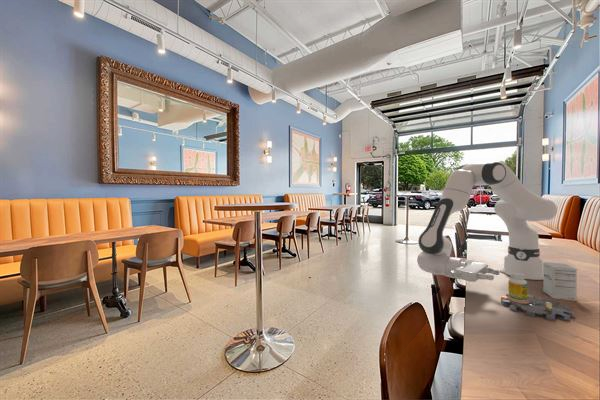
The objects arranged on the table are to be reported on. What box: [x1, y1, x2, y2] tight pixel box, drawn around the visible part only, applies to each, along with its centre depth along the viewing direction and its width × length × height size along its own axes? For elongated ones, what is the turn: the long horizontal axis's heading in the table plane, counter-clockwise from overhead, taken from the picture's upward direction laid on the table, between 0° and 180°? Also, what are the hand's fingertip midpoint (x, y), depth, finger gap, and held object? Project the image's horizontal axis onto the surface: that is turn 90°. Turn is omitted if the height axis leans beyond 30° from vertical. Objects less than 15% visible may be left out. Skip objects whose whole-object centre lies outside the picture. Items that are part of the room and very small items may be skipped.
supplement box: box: [542, 261, 578, 302], centre depth 101 cm, size 7×7×13 cm
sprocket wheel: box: [500, 293, 574, 322], centre depth 91 cm, size 19×19×4 cm
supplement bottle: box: [508, 272, 528, 302], centre depth 95 cm, size 5×5×10 cm
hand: (496, 275), depth 99 cm, fingers open, 8 cm apart
